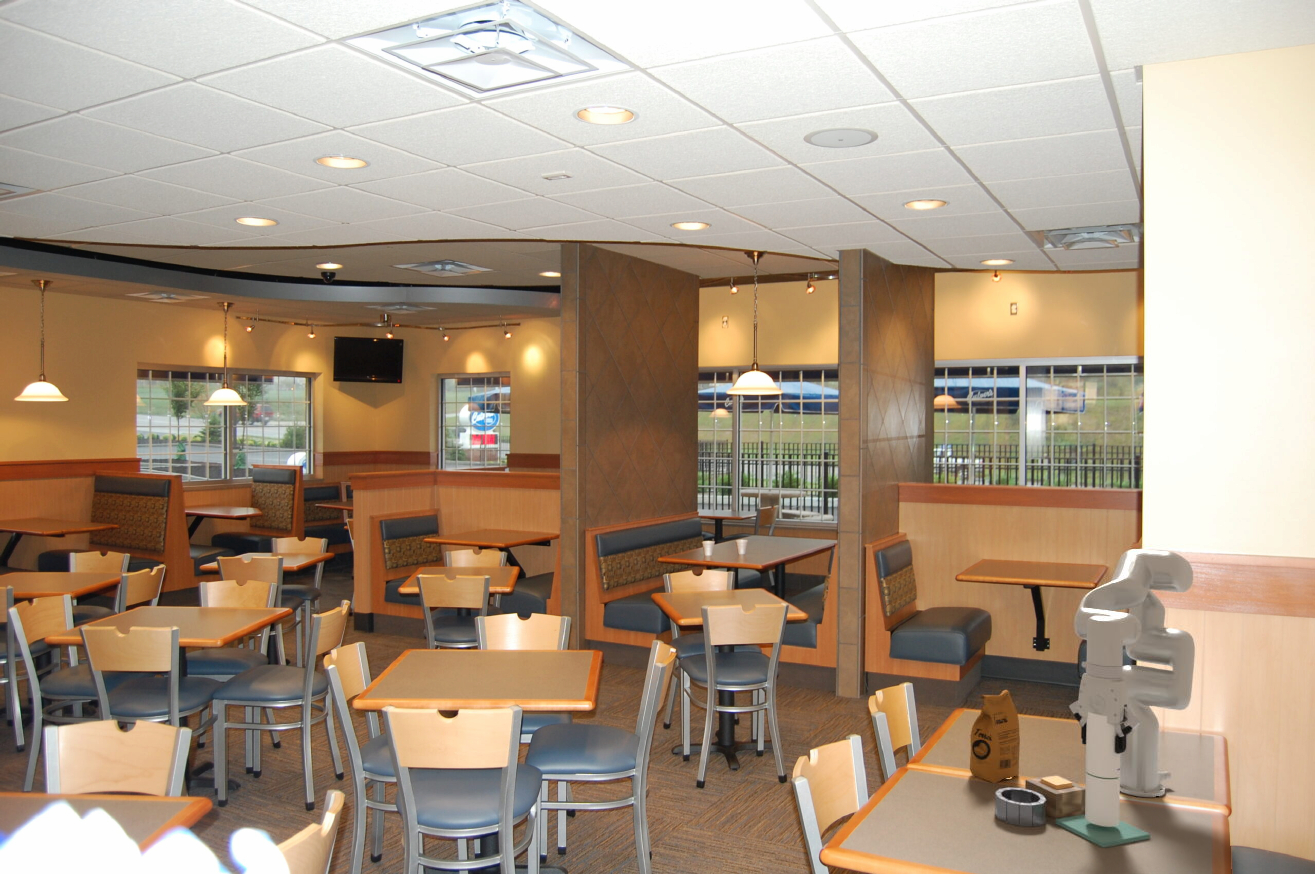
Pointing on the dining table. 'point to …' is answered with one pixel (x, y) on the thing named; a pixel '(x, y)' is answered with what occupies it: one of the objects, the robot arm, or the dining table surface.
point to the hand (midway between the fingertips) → (1103, 747)
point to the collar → (1020, 807)
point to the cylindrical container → (1101, 772)
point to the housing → (1060, 798)
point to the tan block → (1056, 782)
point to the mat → (1102, 831)
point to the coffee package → (995, 739)
